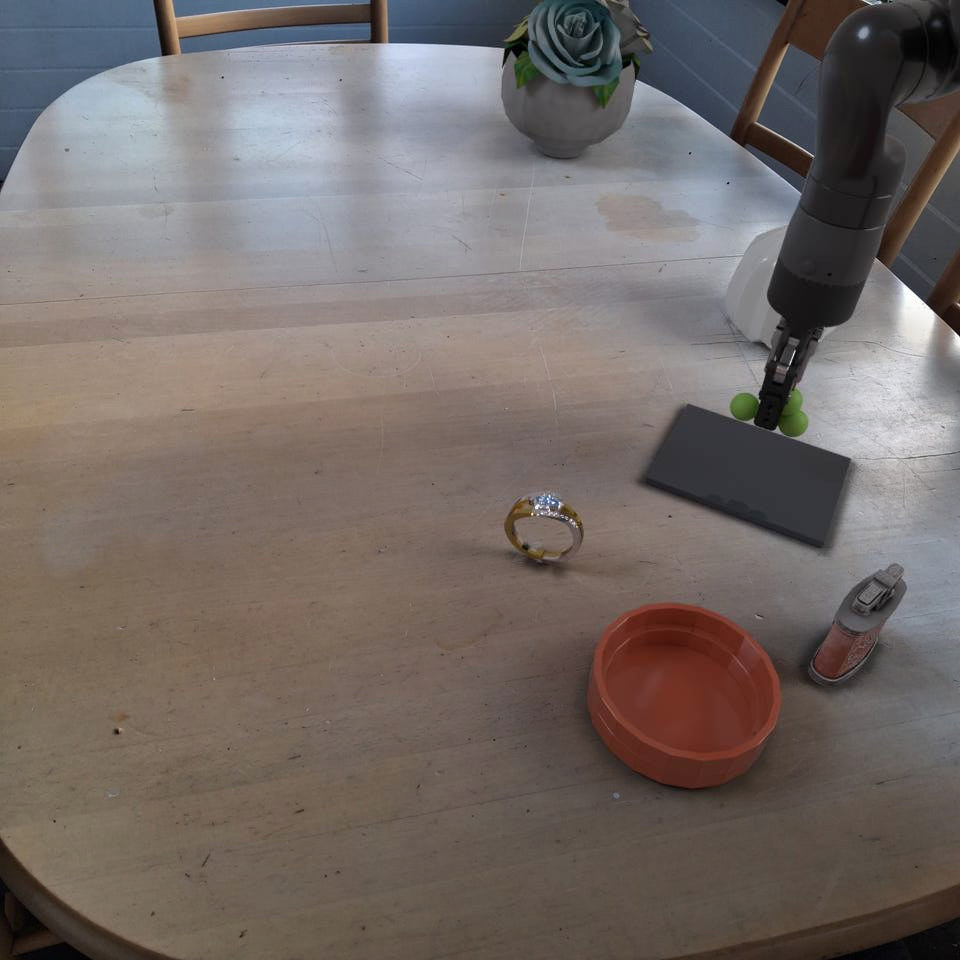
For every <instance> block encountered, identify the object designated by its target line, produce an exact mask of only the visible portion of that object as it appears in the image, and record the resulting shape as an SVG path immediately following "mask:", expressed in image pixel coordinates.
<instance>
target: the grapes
mask: <svg viewBox="0 0 960 960" xmlns="http://www.w3.org/2000/svg"><path fill="white" fill-rule="evenodd" d="M797 384H798V383H796V384H794V385H793V388H792V391H791V393H790V395H791V398H790V400H789V402H788V404H787V405H785V407H784V409H783V412H782V415H781V417H780V420H779V423H778V425H777V427H778V430H779V431H780V432H781V434H782V435H783V436H786V437H789V438H797V437H800V436H802V435H803V434H805V432H806V431H807V430H808V428H809V418H808V415H807V414H806V413H805V412H804V411H803V410H801V409H802V406H803V404H804V397H803V395H802V392H801V391H800V390H799V389H798V388H796V387H797ZM729 403H730V404H729V410H730V413H731V415H732V416H733V418H734V419H735V420H738V421H741V422H748V421H751V420H754V418H755V415H756V413H757V410H758V407H759V404H760V401H759V399H758V398H757V396H756V395H754V394H752V393H750V392H740V393H737V394H736V395H735V396H733V397H732V398H731V400H730V402H729Z"/></svg>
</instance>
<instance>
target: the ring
mask: <svg viewBox="0 0 960 960" xmlns="http://www.w3.org/2000/svg"><path fill="white" fill-rule="evenodd" d="M527 505H529V506H531V507H530V508H529V507H525V506H527ZM536 516H537V517H540V518H545V519H551V520H555V521H559V522H561V523H562V524H564V525H566V526H567V528H568V529H569V530H570V532H571V535H572V538H573V539H572V541H573V543H572V545H571V546H570V547H569V548H568V549H566V550H565V551H562V552H557V553H555V552H554V553H552V552H547V551H546V550H544V549H543V548H534V546H533V547H532V546H531V545H529V544H528V543H527V542H526V541H525V540H523V538H522V537H521V536H520V535H519V533H518V531H517V529H516V526H515V522H517V520H521V519H523V518H529V517H536ZM503 528H504V529H503V530H504V533H505V535H506V537H507V540H509V542H510V543H511V545H512V546H513V547H515V549H516V550H517V551H519V552H520V553H521V554H523V556H526V557H528V558H529V559H532V560H533V562H534V563H535V564H539V565H542V564H549V565H560V564H564V563H567V562H569V561H570V560H572V559H573V558H574V557H575V556H576V555H577V553H578V552H579V550H580V548H581V546H582V543H583V540H584V535H585V531H584V529H585V528H584V525H583V522H582V520H581V517H580V516H579V515H578V513H577V512H576V511H575V510H574V508H573V507H571V506H570V505H569V504H567V503H566V502H565V501H564V500H563V497H562V496H561V494H559V493H557V492H556V491H552V490H543V491H542V490H541V491H538V492H533V493H528V494H527V495H524V496H522V497H521V498H519V499H518V500H517V501H516V502H515V503H514V504H513V506H512V507H511V509H510V511H509V512H508V514H507V516H506V518H505V519H504V523H503Z"/></svg>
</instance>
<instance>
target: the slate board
mask: <svg viewBox="0 0 960 960" xmlns="http://www.w3.org/2000/svg"><path fill="white" fill-rule="evenodd" d="M851 462H852V457H849V456H845V455H842V454H839V453H836V452H833V451H831V450H827V449H824V448H821V447H819V446H815V445H812V444H809V443H806V442H804V441H800V440H797V439H795V438H793V437H788V436H785V435H784V434H780V433H778V432H777V433H776V432H774V431H769V430H766V429H763V428H760V427H757V426H756V425H754V424H751V423H748V422H745V421H740V420H738V419H736V418H734V417H730V416H727V415H724V414H720V413H717V412H714V411H711V410H710V409H706V408H702V407H700V406H697V405H694V404H692V403H691V404H690V403H687V404H686V406H685V408H684V410H683V411H682V413H681V414H680V417H679V418H678V419H677V422H676V423H675V425H674V427H673V429H672V430H671V433H670V434H669V436H668V438H667V439H666V441H665V442H664V445H663V446H662V449H661V450H660V451H659V453H658V456H657V457H656V459H655V461H654V463H653V464H652V465H651V468H650V470H649V471H648V472H647V475H646V477H645V480H644V482H645V484H648V485H651V486H654V487H656V488H659V489H661V490H664V491H667V492H670V493H673V494H675V495H677V496H681V497H683V498H685V499H689V500H691V501H694V502H696V503H700V504H702V505H705V506H708V507H711V508H712V509H716V510H719V511H721V512H724V513H726V514H729V515H732V516H734V517H738V518H740V519H743V520H745V521H748V522H751V523H754V524H756V525H758V526H762V527H764V528H767V529H770V530H773V531H775V532H778V533H781V534H783V535H785V536H788V537H791V538H794V539H796V540H800V541H802V542H805V543H808V544H810V545H813V546H816V547H818V548H821V549H823V548H824V546H825V544H826V541H827V539H828V536H829V533H830V529H831V526H832V524H833V523H832V522H833V519H834V516H835V513H836V510H837V507H838V504H839V500H840V496H841V494H842V491H843V487H844V485H845V481H846V478H847V474H848V472H849V468H850V465H851Z"/></svg>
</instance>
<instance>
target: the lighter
mask: <svg viewBox="0 0 960 960" xmlns="http://www.w3.org/2000/svg"><path fill="white" fill-rule="evenodd" d="M905 572H906V569H905V567H904V566H902V565H901V564H899V563H898V562H891V563H889V564H888V565H887V566H886V568H884V569H881V568H880V569H878V570H877V571H876V572H873V573H872V574H870V575H868V576H867V577H865V578H863V579H862V580H861V581H860V582H859V583H857V584H856V585H854V586H853V588H851V590H850V591H849V592H848V593H847V594H846V595H845V597H844V598H843V600H842V601H841V604H840V605H839V607H838V609H837V610H836V612H835V615H834V617H833V620H832V622H831V628H830V630H829V631H828V633H827V635H826V637H825V639H824V641H823V642H822V643H821V645H820V646H819V647H818V648H817V650H816V651H815V653H814V655H813V657H812V659H811V660H810V663H809V664H808V668H807V671H808V675H809V676H810V677H811V679H813V681H815V682H816V683H817V684H819V685H821V686H823V687H825V688H827V687H828V688H833V687H836V686H838V685H840V684H841V683H843V682H845V681H846V680H848V679H849V678H851V677H852V676H853V675H854V674H855V673H856V672H857V671H858V670H860V669H861V667H862V666H863V665H864V664H865V662H866V661H867V659H868V658H869V657H870V655H871V653H872V651H873V650H874V648H875V646H876V644H877V642H878V639H879V635H880V633H881V631H882V629H883V628H884V627H885V624H886V622H887V620H889V619H890V618H891V616H892V615H893V614H894V612H895V611H896V610H897V608H899V605H900V603H902V600H903V598H904V596H905V594H906V592H907V590H908V585H907V583H906V582H905V580H904V579H903V578H902V577H903V576H904V574H905Z"/></svg>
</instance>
